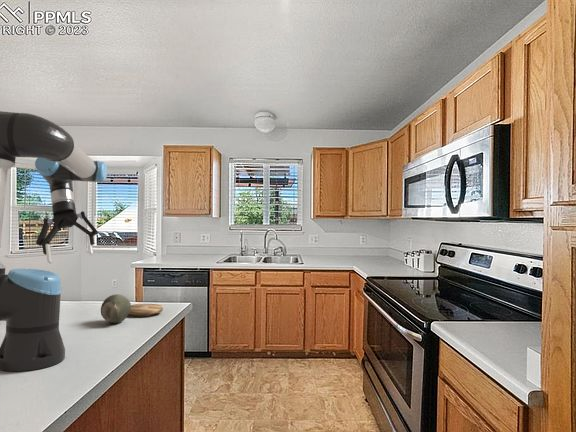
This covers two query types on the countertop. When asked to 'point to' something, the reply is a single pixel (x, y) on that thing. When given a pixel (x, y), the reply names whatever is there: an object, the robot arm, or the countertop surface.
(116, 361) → the countertop surface
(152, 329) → the countertop surface
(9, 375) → the countertop surface
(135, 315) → the susan base
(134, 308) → the lazy susan
